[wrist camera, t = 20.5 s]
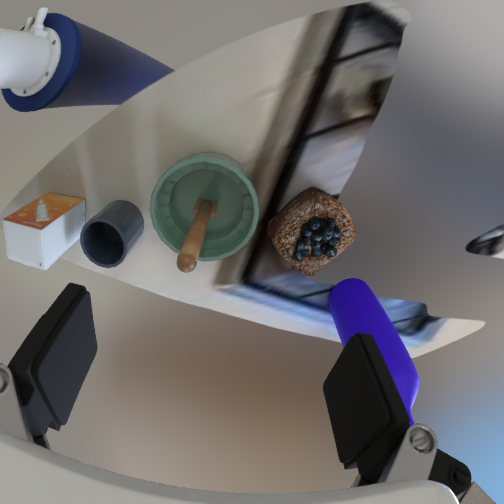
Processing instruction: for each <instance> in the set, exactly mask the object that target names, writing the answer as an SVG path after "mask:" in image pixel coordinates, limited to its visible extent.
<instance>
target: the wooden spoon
mask: <svg viewBox="0 0 504 504" xmlns="http://www.w3.org/2000/svg"><path fill="white" fill-rule="evenodd" d="M217 207H218V202H217V201H212V200H208V199H201V198H198V200H197V202H196V204H195V206H194V208H193V211H192V214H196V215H195V217H194V220H193V222H192V224H191V227H190V229H189V231H188V234H187V236H186V239H185V241H184V243H183V246H182V248H181V251H180V253H179V256H178V258H177V267H178V268H179V269H180V270H181V271H182V272H186V273H187V272H191V271H193V270H194V269H195V267H196V264H197V261H198V257H199V253H200V250H201V246H202V243H203V239H204V236H205V232H206V229H207V225H208V222H209V219H210V217H213V218H215V215H216V211H217Z"/></svg>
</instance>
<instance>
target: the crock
mask: <svg viewBox="0 0 504 504" xmlns="http://www.w3.org/2000/svg"><path fill="white" fill-rule="evenodd" d="M143 229H144V220H143V216H142V214H141V212H140V211H139V209H138V208H137V207H136V206H135V205H134V204H132V203H130V202H128V201H125V200H117V201H113V202H111V203H110V204H108V205H107V206H106V207H105V208H103V209H102V210H101V211H100V212H99V213H97V214H96V215H95V216H94V217H93V218H91V219H90V220H89V221H88V222H87V223H86V224H85V225H84V226H83V228H82V231H81V233H80V244H81V246H82V249H83V251H84V253H85V255H86V256H87V257H88V258H89V260H90V261H92V262H93V263H95V264H96V265H98V266H101V267H105V268H111V267H116V266H118V265H119V264H120V263H122V262H123V261H124V259H125V258H126V256H127V255H128V254H129V252H130V251H131V249H132V248H133V247H134V245H135V244H136V242H137V241H138V240H139V238H140V236H141V235H142V232H143Z"/></svg>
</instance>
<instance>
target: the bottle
mask: <svg viewBox="0 0 504 504" xmlns="http://www.w3.org/2000/svg"><path fill="white" fill-rule="evenodd" d="M328 302H329V307H330V311H331V314H332V317H333V320H334V322H335V325H336V328H337V331H338V334H339V336H340V339H341V342H342V344H343V347H345V345H346V344H347V342H348V340H349V338H350V337H351V336H354V335H355V334H356V333H366V334H371V335H372V336H373V337H374V340H375V342H376V344H377V346H378V348H379V350H380V352H381V354H382V356H383V358H384V361H385V363H386V365H387V367H388V369H389V372H390V374H391V376H392V378H393V380H394V383H395V385H396V387H397V389H398V392H399V394H400V396H401V399H402V401H403V403H404V406H405V408H406V410H407V413H408V415H409V418H410V420H411V421H410V422H409V424H410V426H412V425H413V424H415V423H414V421H413V418H412V414H411V409H412V406H413V403H414V401H415V398H416V395H417V392H418V387H419V376H418V373H417V370H416V368H415V366H414V364H413V362H412V359H411V357H410V355H409V353H408V351H407V350H406V348H405V346H404V344H403V342H402V340H401V338H400V337H399V335H398V333H397V331H396V330H395V328H394V326H393V324H392V323H391V321H390V319H389V317H388V316H387V314H386V313H385V311H384V309H383V308H382V306H381V304H380V303H379V301H378V300H377V298H376V296H375V295H374V293H373V292H372V291H371V289H370V288H369V286H368V285H367V284H366V283H365V282H364V281H362V280H360V279H354V278H350V279H346V280H343V281H341V282H339V283H338V284H337V285H336V286H335V287H334V288H333V289H332V291H331V293H330V295H329V299H328Z"/></svg>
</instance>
